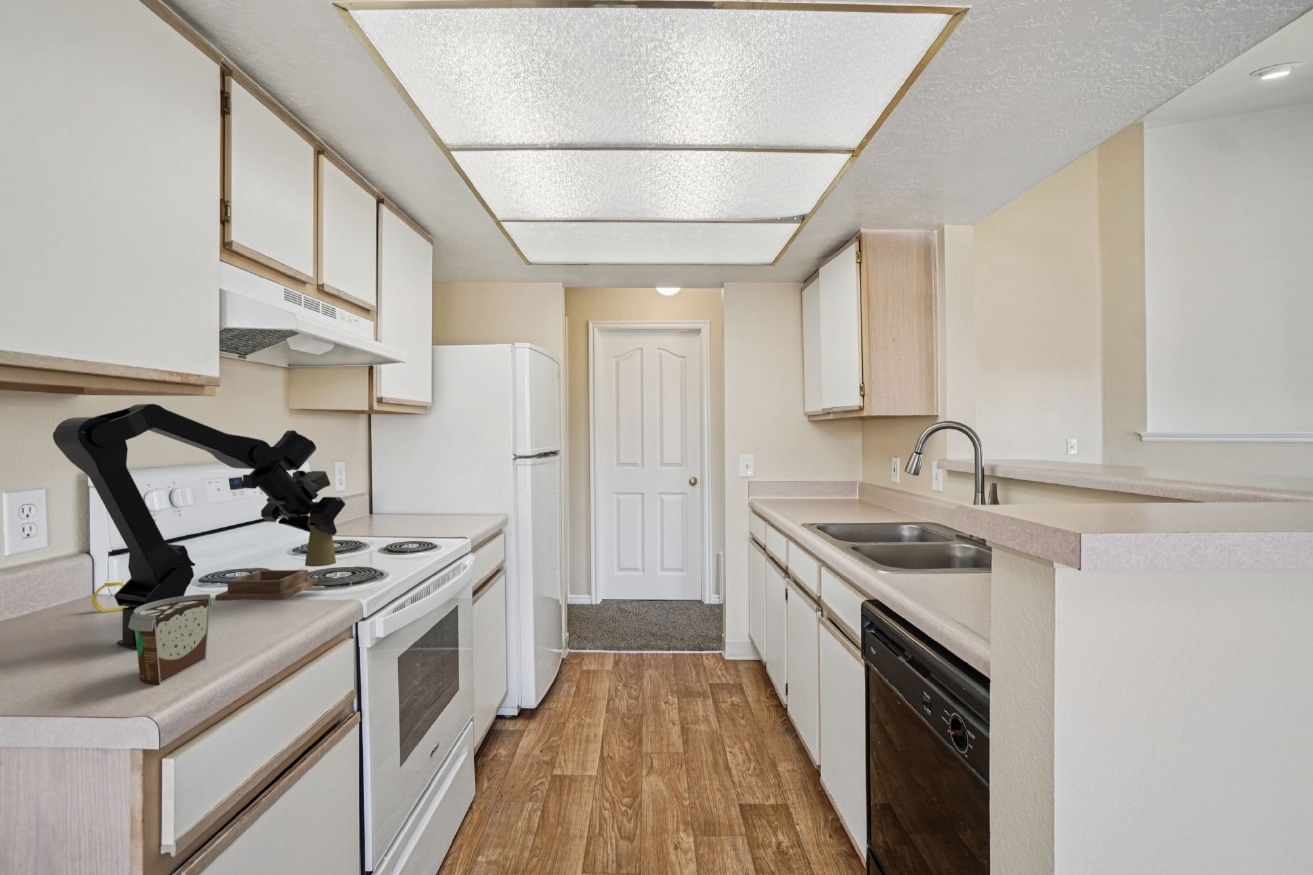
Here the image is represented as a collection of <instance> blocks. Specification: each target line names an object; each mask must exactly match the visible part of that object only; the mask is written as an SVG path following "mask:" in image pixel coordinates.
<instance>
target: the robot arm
mask: <svg viewBox="0 0 1313 875" xmlns="http://www.w3.org/2000/svg"><path fill="white" fill-rule="evenodd" d="M148 431H150V432H153V433H156V434H159V435H161V436H163V437H166V438H170V439H172V440H175V441H177V442H180V443H184V444H186V445H189V446H192V447H195V448H197V449H200V450H202V451H204V452H207V453H209V454H211V455H212V456H213V457H214V458H215V459H216V460H217V461H219V462H221V463H223V464H225V465H226V466H228V467H230V468H232V469H240V470H241V469H243V470H244V469H245V470H246V469H247V470H252V471H250V473H249V474H242V481H241V484H240V488H242V489H252V490H253V489H257V487H258V488H259V489H260V491H262V492H263V493H264V494H265V495H266V496H267V499H266V500H265V501H266V502H267V503H266V504H265V506H263V508H262V509H261V510H260V516H261V518H262V519H264V521H265V522H269V523H276V522H277V520H278V519H279V520H278V523H279V524H280V525H284V526H288V527H291V528H294V529H297V530H300V531H301V530H302V531H304V532H307V533H310V528H309V527H308V518H309V517H310V520H311V521H312V522H311V523H310V524H309V526H311V527H314V528H316V529H319V530H321V531H323V532H326V533H328V534H331V535H332V536H336V534H337V533H338V531H337V528H336V525H335V519H336V517H337V516H338V515H339V514H340V512H341V511H342V510H343V509H344V507H345V506H346V502H345V501H344V500H343V499H342V498H341V496H323V497H322V498H321V499H320V500H319V501H313V500H316V499H317V497H319V494H318V492H320V491H321V490H323V489H324V488H326V487H330V486H331V482H330V479H329V477H328V474H327V472H326V471H324V470H312V471H305V470H300V469H301V467H302V466H303V465H304V464H305V463H306V462H307V461H308V459H310V458H311V456H312V455H313V454H314V453H315V452H316V451H317V446H316V444H315V442H314V441H313V440H311V439H309V438H307V437H306V436H304V435H302V434H299V433H298V432H297V431H296V430H293V429H291V430H286V431H285V432H284V433H283V435H282V437H280V439H279V440H277V442H276V443H275V444H274V445H273V446H271V445H270V444H269V443H268V442H266V441H265V440H263V439H259V438H255V437H249V436H243V435H238V434H232V433H227V432H224V431H222V430H219V429H216V428H213V427H212V426H208V425H206V424H204V423H201V422H199V421H196V420H193V419H191V418H188V417H186V416H183V415H180V414H178V413H176V412H173V411H171V410H168V409H165V408H164V407H163V406H162V405H159V404H156V403H140V404H134V405H131V406H129V407H127V408H123V409H120V410H116V411H111V412H108V413H104V414H101V415H100V414H99V415H96V416H86V417H85V416H82V417H80V416H79V417H76V416H75V417H71V418H66V419H65V420H63V421H61V422H60V423H59V424H58V425H57V426H56V428H55V429H54V431H53V433H52V439H53V441H54V444H55V445H56V447H57V448H58V449H59V450H60V452H62V454H63V455H64V456H65V457H66V458H67V460H69V462H71V463H72V464H73V465H74V466H76V467H77V468H78V469H80V471H82V472H83V473H85V474H86V475H87V476H88V477H89V479H90V481H91V483H92V485H93V486H94V488H95V490H96V492H97V494H98V496H99V498H100V500H101V501H102V503H103V505H104V506H105V509H106V511H107V512H108V514H109V516H110V518H111V520H112V522H113V524H114V525H115V527H116V529H117V531H118V533H119V535H120V537H121V538H122V540H123V542H124V544H125V546H126V547H127V549H128V551H129V553H128V564H127V566H128V571H129V575H130V579H128V580H127V581H126V582H125V583H126V584H125V585H124V586H121V587H120V589H119V590H117V592H115V593H114V596H113V597H114V599H115V601H116V603H117V605H118V606H119V607H124V606H128V607H126V608H123V610H122V631H121V632H122V636H121V638H122V639H120V640H117V641H116V645H118V646H122V647H126V648H129V649H134V650H137V645H136V636H135V630H132V629H130V628H129V627H128V626H129V622H130V618H131V615H132V614H133V613H134V610H135V609H136V608H138V607H140V606H142V605H145V604H148V603H151V602H155V601H159V600H164V599H169V598H174V597H181V596H185V594H186V591H187V589H188V587H189V586H190V584H191V582H192V580H193V579H194V576H195V572H194V569H193V567H195V566H196V563H195V562H193V561H192V560H191V558H190V556H189V553H188V549H187V548H186V546H185V545H181V544H170V543H168V542H167V541H166V540H165V539H164V536H163V535H162V533H161V531H160V529H159V527H158V524H157V523H156V521H155V519H154V517H153V515H152V514H151V512H150V509H149V507H148V506H147V504H146V502H145V499H144V498H143V496H142V494H141V492H140V490H139V489H138V488H139V487H138V486H137V484H136V482H135V481H134V478H133V476H132V474H131V472H130V471H129V469H128V466H127V465H128V464H127V463H128V462H127V461H128V453H129V452H128V450H129V448H128V444H127V441H128V440H130V439H134V438H136V437H139V436H140V435H142V434H145V433H146V432H148ZM289 471H294V472H292V475H291V474H290V473H289ZM333 520H334V521H333Z"/></svg>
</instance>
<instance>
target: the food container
mask: <svg viewBox="0 0 1313 875" xmlns="http://www.w3.org/2000/svg"><path fill="white" fill-rule="evenodd" d="M213 606H214V605H213V598H212V597H211V593H203V594H201V593H200V594H191V595H184V596H181V597H174V598H169V599H164V600H159V601H155V602H151V603H148V604H145V605H142V606H140V607H138V608H136V609H135V610H134V613H133V614H132V615H131V618H130V622H129V626H128V627H129V628H130V629H132V630H135V636H136V645H137V649H136V652H137V663H138V672H139V681H140V683H142V684H144V685H148V686H149V685H150V686H160V685H162V684H164V683H166V682H168V681H169V680H171V679H173V678H176V677H177V676H179V675H180V674H183V673H185V672H186V671H188V670H190V669H192V668H194V667H195V666H197V665H199V664H201V663H203V662H205V661H207V651H208V638H209V637H208V636H209V624H210V623H209V622H210V610H211V607H213Z"/></svg>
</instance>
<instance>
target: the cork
mask: <svg viewBox="0 0 1313 875" xmlns="http://www.w3.org/2000/svg"><path fill="white" fill-rule="evenodd" d="M333 521H334V522H335V519H334V520H333ZM311 522H312V521H311V520H310V516H309V518H308V527H309V528H310V532H309V537H308V543H307V548H306V549H307V550H306V557H305V561H304V562H305V563H304V566H305V567H312V568H313V567H324V566H331V565H334V564H337V560H336V553H335V552H336V551H335V544H334V538H333V535H331V534H328V533H326V532H323V531H321V530H319V529H316V528H314V527H311V526H309V524H310V523H311Z"/></svg>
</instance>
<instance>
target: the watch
mask: <svg viewBox="0 0 1313 875" xmlns="http://www.w3.org/2000/svg"><path fill="white" fill-rule="evenodd" d="M126 583H127V582H124V580H122V579H114V580H107V581H105V582H104V584H103V585H101V586H100V587H99V588H97V589H96V591H95V592H94V593H93V595H92V601H91V602H92V605H93V606H94V608H95V609H96V610H97V611H99V612H101V613H103V612H104V613H109V612H118V610H120V611H123V608H127V607H128V606H121V607H114V608H108V609H106V608H104V607H103V606H102V607H101V606H100V605H99V603H98V601H97V598H98V594H99V592H100V591H101V590H102V589H104V588H106V587H117V586H121V587H123V586H124V585H125V584H126Z"/></svg>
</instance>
